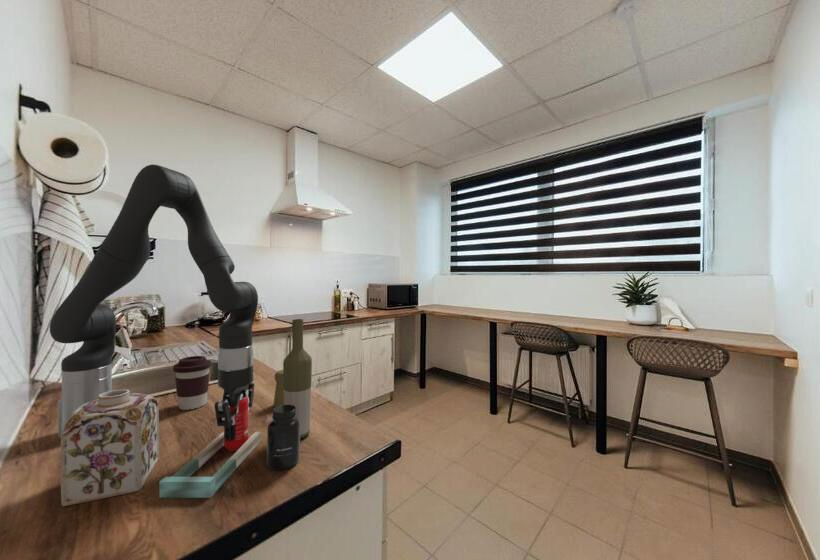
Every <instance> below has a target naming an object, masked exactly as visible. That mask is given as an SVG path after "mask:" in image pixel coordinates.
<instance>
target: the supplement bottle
mask: <svg viewBox="0 0 820 560" xmlns="http://www.w3.org/2000/svg"><path fill="white" fill-rule="evenodd" d="M295 416H296V407H295V406H293V405H281V406H277V407H276V408H274V407H273V409H272V415H271V418H272V419H271V421H270V422H269V423H268V425H267V428H266V429H267V431H266V435H267V437H266V442H267V443H266V465H267V466H268V467H269V468H270V469H271V470H273V471H283V470H288V469H290V468H292V467H294V466H295V465H296V464H297V463H298V462H299V460H300V455H301V454H300V453H301V451H300V449H301V438H300V421H299V419H298V418H296V417H295Z"/></svg>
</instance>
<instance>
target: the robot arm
mask: <svg viewBox="0 0 820 560" xmlns="http://www.w3.org/2000/svg"><path fill="white" fill-rule="evenodd" d="M160 207H163V208H167V209H173V210H175V211H176V212H177V213H178V215H179V216H180V217H181V218H182V220H183V221H184V223H185V225H186V229H187V247H188V250H189V253H190V255H191V257H192V259H193V261H194V263H195V264H196V266H197V267H198V269H199V271H200V272H201V274H202V275H203V279H204V284H205V287H206V290H207V294H208V298H209V300H210V303H212V305H213V306H214V307H215V308H216V309H217V310H219V311H220V312H222V313H229V316H228V319H227V320H226V321H224V322H223V323H222V324H221V325H220V326H219V329H218V330H219V331H218V355H217V385H218V388H221V389H223V394H222V399H221V401H216V402H214V403H215V404H214V412H215V417H216V424H217V427H223V432H224V440H225V441H233V440H234V439H235V420H236V415H237V414H238V413H239V402H240V401H241V400H242V398H243V396H246V395H247V397H248V413H249V412H250V408H252V407H253V404H254V403H253V402H254V394H255V393H254V392H255V383H253V382H254V349H253V325H254V321H255V318H256V313H257V309H258V303H259V295H258V290H257V288H256V287H255V285H254V284H252V283H250V282H248V281H234V280H233V278H232V276H231V275H232V273H234V271H235V268H236V267H235V264H234V261H233V259H232V257H231V256H230V255H229V253H228V251H227V250H226V248H225V247H224V245H223V243H222V242H221V240H220V238H219V237H218V235H217V233H216V231H215V229H214V226H213V224H212V222H211V220H210V217H209V216H208V212H207V210H206V207H205V205H204V202H203V201H202V197H201V194H200V192H199V190H198V188H197V186H196V184H195V182H194V181H193V180H192V179H191V177H190V176H188V175H186V174H184V173H182V172H180V171H177V170H174V169H171V168H168V167H166V166H162V165H159V164H147V165H146V166H144V167H142V168H141V169H140V171H139V172H138V173H137V174H136V176H135V178H134V180H133V182H132V184H131V187H130V189H129V191H128V194H127V196H126V197H125V200H124V203H123V205H122V207H121V210H120V211H119V213H118V215H117V218H116V219H115V220H114V223H113V224H112V226H111V228H110V230H109V232H108V234H106V236H105V238H104V240H103V241H102V242H101V243H100V245H99V247H98V248H97V251H96V252H95V253H94V255H93V258H92V260H91V262H90V263H89V265H88V267H87V268H86V270H85V272H84V273H83V274H82V276H81V278H80V279H79V281H78V282H77V283H76V285H75V286H74V288H73V289H72V290H71V292H70V293H69V294H68V295H67V297H66V298H65V299H64V300H63V301H62V302H61V304H60V305H59V307H58V308H57V310H56V311H55V312H54V314H53V316H52V317H51V319H50V325H49V334H50V336H51V337H52V339H53V340H54V341H55V342H57V343H60V344H75V343H76V344H77V343H81V342H82V343H83V344H82V345H81V346H80V347H79V348H78V349H76V351H74V352H72V353H71V354H69V355H67V356H65V357H64V358H63V359H62V360H61V365H60V367H61V398H60V399H58V401H57V420H58V421H57V424H58V426H57V429H58V430H57V431H58V433H57V434H58V436H57V437H58V438H61V435H60V434H61V432H62V431H63V429H64V427H65V425H66V423H67V422H68V420H69V417H70V416H71V414H72V413H73V412H74V411H75V410H76V409H77V408H79V407H80V406H82V405H83V404H85V403H88V402H91V401H94V400H96V399H98V396H99V395H100V394H102V393H105V392H109V391H113V388H112V387H113V385H112V383H113V379H112V377H113V376H112V375H113V372H112V371H113V370H112V365H113V364H112V358H113V356H114V354H115V348H116V334H117V332H116V331H117V319H116V315H115V312H114V310H112V308H111V307H110V306H109V305H106V304H103V302H104V301H105V300H106V299H107V298H109V297H111V296H112V295H113V294H114V293H116V292H118V291H119V290H120V289H122V288H124V287H125V286H126V285H128V284H129V283H130V282H132V281H133V280H134V279H135V278H136V277H137V276H139V273H140V272H141V271H142V269H143V268H144V267H145V265H146V263H147V261H148V260H149V259H150V256H151V240H150V236H149V226H150V222H151V221H152V219H153V217H154V215H155V214H156V212H157V211H158V210H159V208H160ZM101 303H102V304H101ZM235 405H236V406H235ZM234 406H235V410H234V411H229V407H234ZM230 414H231V415H232V418H230Z"/></svg>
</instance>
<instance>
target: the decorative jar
mask: <svg viewBox="0 0 820 560" xmlns="http://www.w3.org/2000/svg"><path fill="white" fill-rule="evenodd" d="M159 404H160V402H159V401H158V400H157V399H156V398H155V397H154V396H153V395H149V394H146V393H142V392H141V393H140V392H136V393H130V390H129V389H116V390H113V389H112V391H109V392H105V393H102V394H100V395H99V396H98V399H96V400H94V401H91V402H88V403H85V404H83V405H82V406H80V407H79V408H77V409H76V410H75V411H74V412H73V413H72V414H71V416H70V417H69V420H68V422H67V423H66V425H65V427H64V429H63V431H62V432H61V434H60V435H61V437H60V500H61V501H60V502H61V507H67V506H73V505H74V506H75V505H77V504H83V503H84V504H85V503H88V502H89V503H90V502H93V501H97V500H103V499H107V498H112V497H116V496H121V495H126V494H131V493H135V492H136V493H137V492H140V491H141V489H142V488H143V486H144V485H145V483H146V481H147V479H148V477H149V476H150V474H151V472H152V471H153V469H154V467H155V466H156V464H157V463H158V461H159V460H160V459H159V453H160V451H159V450H160V424H159V423H160V419H159V417H160V414H159V413H160V412H159Z"/></svg>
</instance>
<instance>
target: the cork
mask: <svg viewBox="0 0 820 560" xmlns="http://www.w3.org/2000/svg"><path fill="white" fill-rule="evenodd" d="M274 380H275V382H276V383H275V389H274V395H273V396H274V398H273V404H272V406H273V408H274V407H275V408H276V407H277V406H281V405H284V378H283V369H281V370H278V371H276V372H275V373H274Z"/></svg>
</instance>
